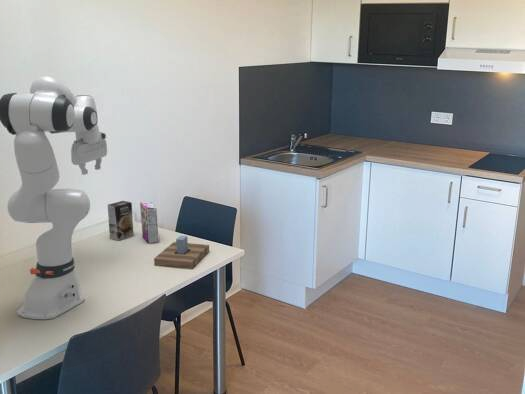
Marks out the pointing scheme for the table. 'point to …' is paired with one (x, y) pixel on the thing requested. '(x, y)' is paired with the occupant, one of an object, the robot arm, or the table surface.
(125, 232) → the coffee box
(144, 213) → the candy bar box
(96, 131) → the robot arm
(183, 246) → the grey post
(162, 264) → the walnut block
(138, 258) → the table surface
